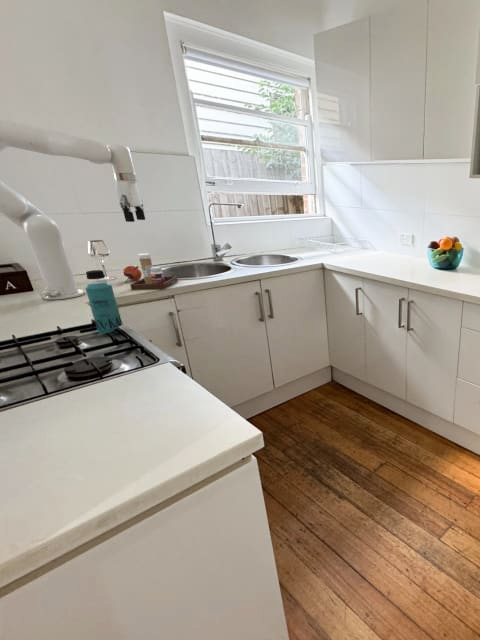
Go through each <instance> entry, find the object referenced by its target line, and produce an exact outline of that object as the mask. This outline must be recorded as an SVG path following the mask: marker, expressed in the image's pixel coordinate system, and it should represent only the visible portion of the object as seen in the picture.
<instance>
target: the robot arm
mask: <svg viewBox="0 0 480 640" xmlns="http://www.w3.org/2000/svg"><path fill="white" fill-rule="evenodd" d="M9 147H11V148H15V149H20V150H23V151H24V150H25V151H30V152H35V153H39V154H43V155H48V156H55V157H69V158H74V159H75V158H76V159H80V160H85V161H89V162H91V163H92V164H95V165H103V164H110V165H111V169H112V174H113V177H114V181H115V189H116V190H115V191H116V195H117V201H118V204H119V206H120V208H121V210H122V213H123V215H124V220H125V222H126V223H135V217H136V220H137V221H146V215H145V212H144V211H145V210H144V209H145V208H144V204H143V199H142V197H141V193H140V189H139V187H138V184H137V183H138V179H137V175H136V171H135V167H134V166H135V165H134V162H133V157H132V153H131V149H130V148H129V147H128V146H127V145H121V144H108V145H106V144H104V143H102V142H100V141H96V140H92V139H89V138H83V137H79V136H75V135H70V134H65V133H62V132H57V131H54V130H49V129H45V128H41V127H37V126H32V125H28V124H26V123H25V124H24V123H21V122H16V121H13V120H8V119H5V118H0V152H2V151H4V150H6V149H7V148H9ZM132 208H134V209H135V210H134V212H133V211H132ZM134 213H135V217H134ZM0 214H2V215H3V216H4V217H6V218H7V220H10V221H11V222H12V223H13V224H14V225H16V226H18V227H19V228H20V229H21V230H23V231H24V232H25V234H26V237H27V239H28V242H29V245H30V248H31V251H32V254H33V257H34V258H35V262H36V264H37V267H38V271H39V273H40V277H41V279H42V282H43V285H44V291H42V292H40V293H39V296H40V297H41V298H43V299H45V300H49V301H50V300H51V301H53V300H55V301H56V300H66V299H72V298H77V297H81V296H83V295H85V291H84V290H83V289H79V288H78V285H77V282H76V279H75V275H74V272H73V269H72V266H71V263H70V260H69V257H68V253H67V250H66V248H65V243H64V241H63V235H62V233H61V229H60V227H59V225H58V223H57V222H56V221H55V220H53V218H51V217H50V216H48V215H47V214H45V213H44V212H42V210H40V209H39V208H37V207H36V206H35V205H34V204H33V203H32V202H31V201H29V200H28V199H27V198H25V197H24V196H23V195H22V194H21V193H20V192H17V191H16V190H15V189H13V188H12V187H10V186H9V185H7V184H6V183H5V182H4V181H2V179H0Z"/></svg>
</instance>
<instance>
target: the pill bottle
mask: <svg viewBox="0 0 480 640" xmlns="http://www.w3.org/2000/svg"><path fill="white" fill-rule="evenodd" d="M150 269H151V271H152V272H151V278H152V282H153V284H163V283H165V279H164V277H165V276H164V272H163V270H162V267H161V266H153V267H151V268H150Z"/></svg>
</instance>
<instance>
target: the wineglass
mask: <svg viewBox="0 0 480 640" xmlns="http://www.w3.org/2000/svg"><path fill="white" fill-rule="evenodd" d="M87 254H88V256H89V257H90V259H92V260H94V261H96V262H98V263H99V264H100V266H101V268H102V271H103V273H104V275H105V278H101V279H98V281H111V280H112V281H113V280H115V279H116V277H113V276H108V274H107V270H106V268H105V267H106V266H105V263H106V262H107V260H108V259H109V258H110V256H111V251H110V249H109V247H108V245H107V244H106V242H105V241H104V240H103V239H95V240H88V241H87Z"/></svg>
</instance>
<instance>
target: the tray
mask: <svg viewBox="0 0 480 640" xmlns="http://www.w3.org/2000/svg"><path fill="white" fill-rule="evenodd" d="M164 279H165V283H163V284H145V280H144V277H143V278H140V279H139V280H138V281H135V282H132V283H131V284H130V285H129V286H130V289H131V290H130V291H154V290H155V291H158V290H159V291H160V290H161V291H163V290H166V289H168V288H169V287H171V286H173V285H175V284H176V283H178V282H179V281H178V276H164Z"/></svg>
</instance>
